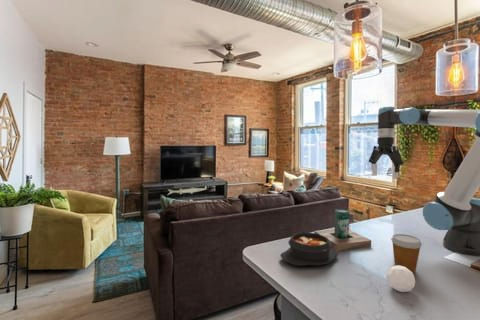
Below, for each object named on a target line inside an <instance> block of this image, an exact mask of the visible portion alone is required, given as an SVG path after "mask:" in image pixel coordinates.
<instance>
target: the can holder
mask: <svg viewBox="0 0 480 320" xmlns="http://www.w3.org/2000/svg"><path fill="white" fill-rule="evenodd" d="M313 233H315V234H319V235H322V236H325V237H326V238H328V239H329V242H330V244H331V245H332V249H334V250H336V251H337V252H343V251H348V250H351V251H352V250H358V249H363V248H364V249H365V248H371V247H372V239H369V238H368V237H366V236H363V235H361V234H359V233H357V232H355V231H353V230H351V229H349V238H346V239H338V238H336V237H335V236H334V233H335V228H331V229H322V230H314V232H313Z"/></svg>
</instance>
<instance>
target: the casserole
mask: <svg viewBox="0 0 480 320" xmlns="http://www.w3.org/2000/svg"><path fill="white" fill-rule="evenodd" d="M288 245H289V248H287V250H285V251H283V252H281V253H280V255H279V256H280V258H281V259H282V260H283V261H285V262H287V263H288V264H291V265H293V266H297V267H298V266H299V267H300V266H321V265H327V264H329V263H331V262H333V261H334V259H335V258H336V257H337V256H339V251H336V250H334V249H332V245H331V244H330V242H329V239H328V238H326V237H325V236H322V235H319V234H315V233H314V232H298V233H294V234H293V235H291V236H290V239H289V240H288Z"/></svg>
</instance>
